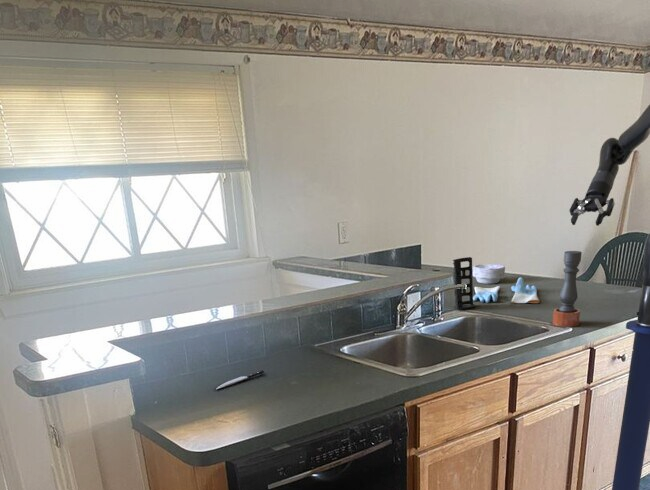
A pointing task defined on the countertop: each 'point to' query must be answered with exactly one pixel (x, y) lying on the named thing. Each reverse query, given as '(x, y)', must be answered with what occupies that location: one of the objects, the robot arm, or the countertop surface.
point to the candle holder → (570, 281)
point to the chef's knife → (239, 379)
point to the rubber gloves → (520, 291)
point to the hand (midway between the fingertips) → (584, 223)
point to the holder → (458, 281)
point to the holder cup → (566, 318)
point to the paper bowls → (488, 273)
